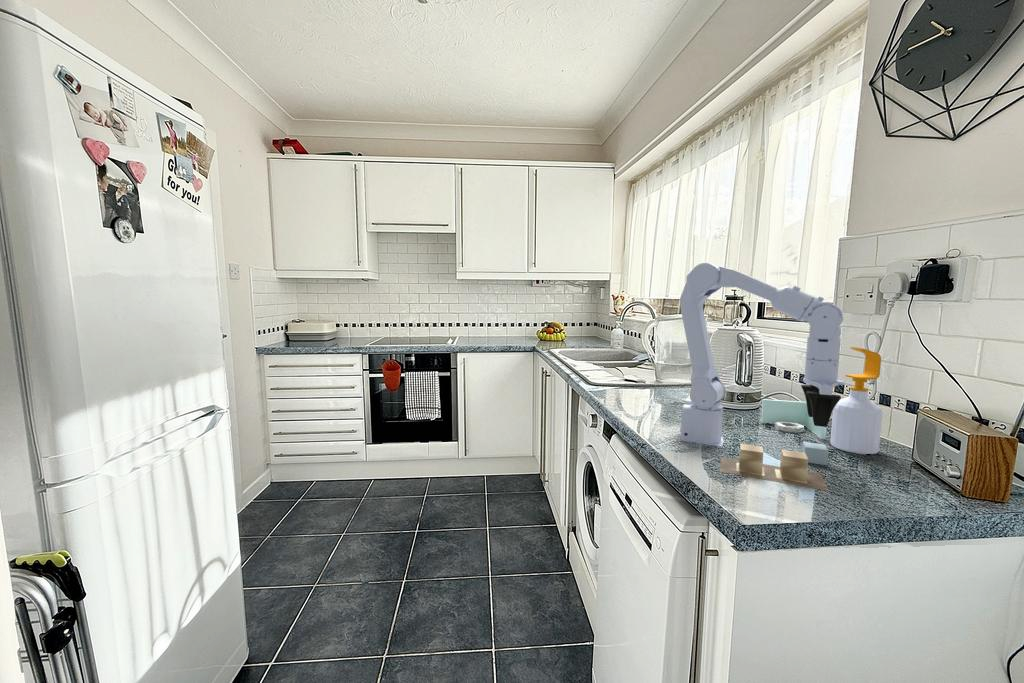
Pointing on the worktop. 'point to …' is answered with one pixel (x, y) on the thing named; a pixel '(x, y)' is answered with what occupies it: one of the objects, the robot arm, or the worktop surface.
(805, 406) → the right angle wall
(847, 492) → the worktop surface
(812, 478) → the board
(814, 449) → the slate grey cube
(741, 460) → the pillar
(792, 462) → the tan wooden cube
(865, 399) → the soap bottle
